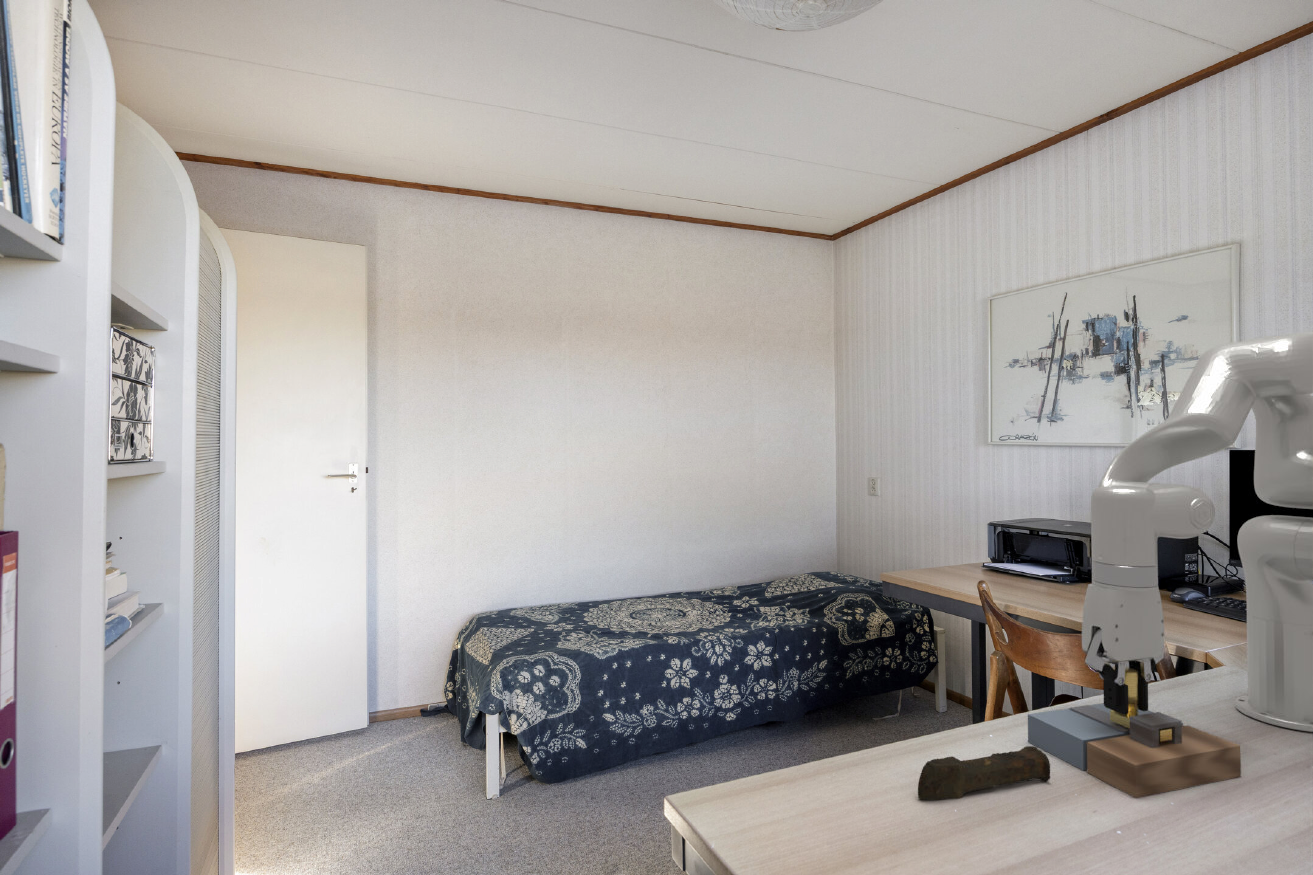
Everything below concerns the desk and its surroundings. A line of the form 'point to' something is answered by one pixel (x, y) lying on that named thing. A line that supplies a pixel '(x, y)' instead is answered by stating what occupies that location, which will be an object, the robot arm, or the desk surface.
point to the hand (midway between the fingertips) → (1125, 707)
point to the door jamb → (1162, 757)
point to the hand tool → (980, 773)
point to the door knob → (1134, 705)
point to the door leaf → (1073, 731)
